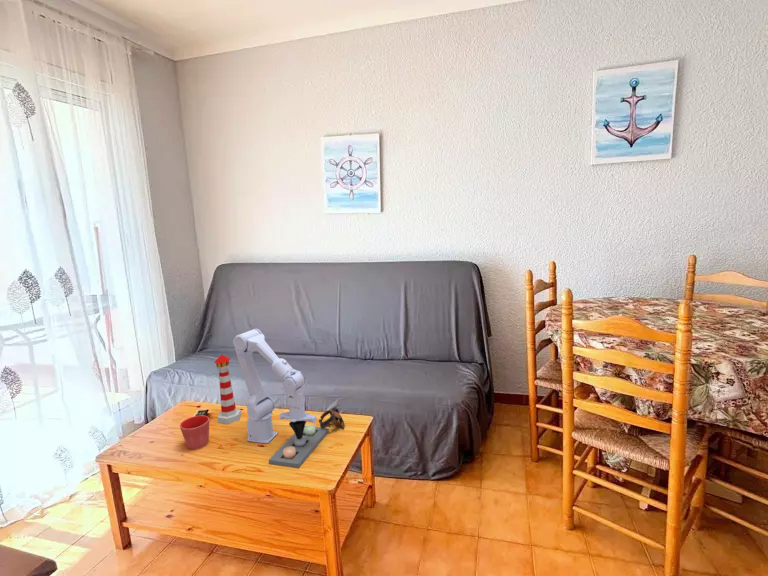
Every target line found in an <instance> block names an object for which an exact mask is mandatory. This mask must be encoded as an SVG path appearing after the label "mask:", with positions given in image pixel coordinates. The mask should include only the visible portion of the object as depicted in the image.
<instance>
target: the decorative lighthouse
mask: <svg viewBox="0 0 768 576" xmlns="http://www.w3.org/2000/svg"><path fill="white" fill-rule="evenodd" d="M230 360H231V358H230V357H229V356H227V355H223V354H221V355H219V356H218V357H217V358H216V359H215V360H214V362H213V363H215V364H216V370H218V375H219V376H218V379H219V390H220V391H219V392H220V393H219V394H220V408H221V409H220V412H219V413H218V416H217V418H216V419H217V423H218V424H223V425H224V424H225V425H230V424H233V423H236V422H238V421H240V419H241V416H242V410H241V409H239V408H237V405H236V401H235V396H234V392H233V386H232V381H231V376H230V371H229V367H230Z"/></svg>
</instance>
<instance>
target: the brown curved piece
mask: <svg viewBox="0 0 768 576" xmlns="http://www.w3.org/2000/svg"><path fill="white" fill-rule="evenodd" d="M328 415H330V416H329V417H328V419H326V420H325V421H324V418H326V416H328ZM337 422H339V423H340V426H341V428H342V430H343V429H345V422H344V419H343V417H342V415H341V414H340V411H339V409H338V408H337V407H333V408H332V409H328V410H326V411H324V412H323V413H322V415H321V416H320V417H319V420H318V423H319V427H320V428H331V424H335V423H337Z"/></svg>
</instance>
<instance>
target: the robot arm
mask: <svg viewBox="0 0 768 576" xmlns="http://www.w3.org/2000/svg"><path fill="white" fill-rule="evenodd" d="M265 339H266V337H265V334H263V332H262V331H261V330H260V329H258V328H253V329H251V330H248V331H245V332H243V333H242V332H241V334H237V335H235V336H234V337H233V341H232V344H233V346H234V350H235V353H236V356H237V357H236V358H237V360H238V363H239V366H240V370H241V373H242V375H243V378H244V382H245V385H246V388H247V392H248V393H249V398H248V400H247V402H246V408H247V409H246V411H247V412H246V413H247V415H248V418H247V422H246V430H247V432H246V433H247V440H246V441H247V442H252V443H253V442H254V443H262V444H268V443H270V442H271V441H272V440H273V439H274V438H275V437H276V436H277V435H278V434H279V432H278V431H274V427H273V419H272V418H273V417H272V415H273V411H275V406H276V405H275V401H274V400H273V398H272V397H271V394H270V393H269V392H266V391H265V390H264V388H263V385H262V384H263V383H262V382H261V378H260V376H259V372H258V370H257V367H256V363H255V361H254V357H253V353H254V352H258V354H260V355H261V356H262V357H263V358H264V359H265V360H266V361H267V362H269V364H271V369H272V371H273V373H275V375H277V376H278V377H279V379H281V380H282V382H283V383H282V386H283V388H284V390H285V393H286V395H287V399H288V401H287V402H288V409H289V411H288V412H281V413H280V414H279V420H289V424H288V425H289V427H291V429H292V431H293V432H294V433H295V435H296V437H297V439H301V438H302V437H303V430H304V427H305V426H306V423H307V422H309V423H312V424H315V423H316V422H317V415H312V414H309V413H307V412H306V408H305V397H304V387H303V386H304V385H305V383H306V377H305V375H304V373H303V372H302V371H299V370H298V369H294V368H293V367H292V366H291V364H290V363H288V361H287V360H286V359H285V358H281V357H278V355H277V354H276V353H275V352H274V350H273V349H272V347H270V345H269V344H268V343H267V342H266V340H265Z"/></svg>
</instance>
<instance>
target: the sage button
mask: <svg viewBox="0 0 768 576" xmlns="http://www.w3.org/2000/svg"><path fill="white" fill-rule="evenodd" d="M305 426H306V427H305V428H304V433H305V436H314V435H315V434H316V430H315V427H316V426H315V425H314V424H308V425H305Z"/></svg>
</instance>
